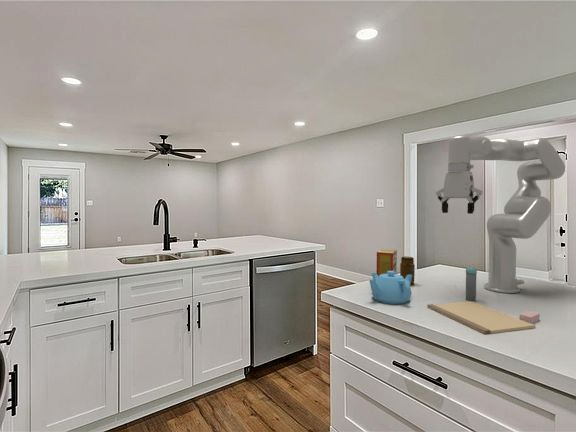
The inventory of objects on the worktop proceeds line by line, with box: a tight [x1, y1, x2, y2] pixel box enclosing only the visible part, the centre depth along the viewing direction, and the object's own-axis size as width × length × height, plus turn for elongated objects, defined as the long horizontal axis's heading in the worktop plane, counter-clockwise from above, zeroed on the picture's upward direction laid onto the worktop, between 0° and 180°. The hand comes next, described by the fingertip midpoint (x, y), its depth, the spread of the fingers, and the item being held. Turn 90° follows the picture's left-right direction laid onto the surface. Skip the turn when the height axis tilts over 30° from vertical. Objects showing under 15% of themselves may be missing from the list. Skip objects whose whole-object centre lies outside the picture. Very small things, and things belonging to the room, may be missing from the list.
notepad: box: [426, 300, 536, 335], centre depth 104 cm, size 18×24×1 cm
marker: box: [465, 266, 478, 303], centre depth 121 cm, size 4×4×12 cm
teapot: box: [369, 271, 412, 305], centre depth 123 cm, size 15×15×11 cm
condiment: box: [399, 256, 422, 287], centre depth 146 cm, size 7×8×12 cm
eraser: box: [519, 310, 540, 325], centre depth 101 cm, size 6×3×2 cm, turn 124°
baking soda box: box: [376, 248, 398, 276], centre depth 141 cm, size 10×6×16 cm
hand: (457, 213), depth 127 cm, fingers open, 9 cm apart
